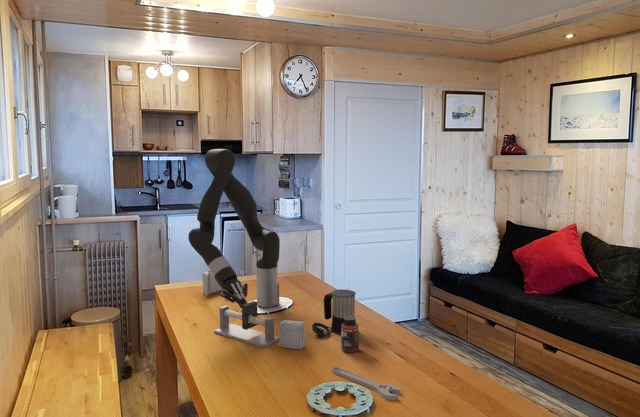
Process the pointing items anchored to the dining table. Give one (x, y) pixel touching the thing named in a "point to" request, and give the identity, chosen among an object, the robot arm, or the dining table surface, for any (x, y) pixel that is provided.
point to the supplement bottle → (350, 335)
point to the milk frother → (336, 311)
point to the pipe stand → (249, 334)
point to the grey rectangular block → (209, 283)
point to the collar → (248, 314)
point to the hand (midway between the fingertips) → (246, 309)
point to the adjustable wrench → (370, 384)
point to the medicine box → (292, 334)
